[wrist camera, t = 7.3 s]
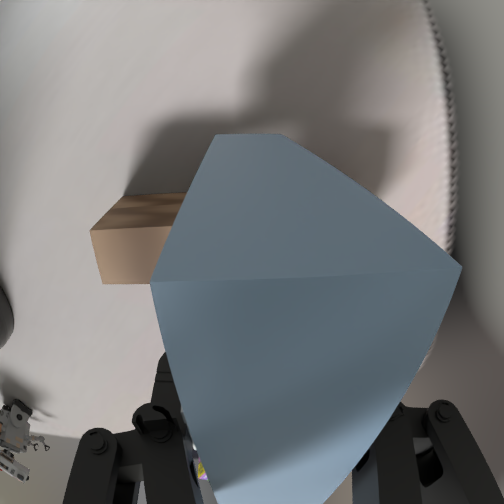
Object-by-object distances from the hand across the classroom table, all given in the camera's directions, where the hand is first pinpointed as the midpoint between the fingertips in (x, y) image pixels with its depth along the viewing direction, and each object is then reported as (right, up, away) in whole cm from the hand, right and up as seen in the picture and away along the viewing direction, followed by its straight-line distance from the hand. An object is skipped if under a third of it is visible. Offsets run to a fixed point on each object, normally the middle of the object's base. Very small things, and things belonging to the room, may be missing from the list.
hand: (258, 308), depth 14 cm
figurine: (-45, -29, +26) cm, 60 cm away
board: (-1, +4, +7) cm, 8 cm away
